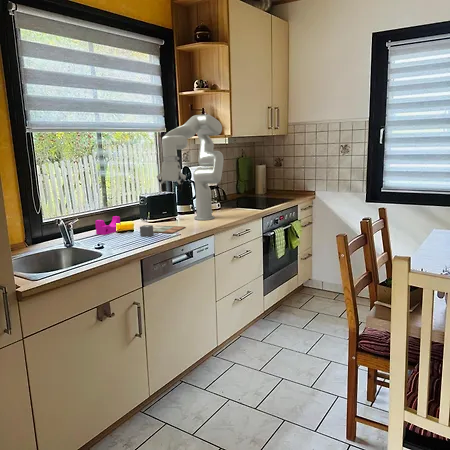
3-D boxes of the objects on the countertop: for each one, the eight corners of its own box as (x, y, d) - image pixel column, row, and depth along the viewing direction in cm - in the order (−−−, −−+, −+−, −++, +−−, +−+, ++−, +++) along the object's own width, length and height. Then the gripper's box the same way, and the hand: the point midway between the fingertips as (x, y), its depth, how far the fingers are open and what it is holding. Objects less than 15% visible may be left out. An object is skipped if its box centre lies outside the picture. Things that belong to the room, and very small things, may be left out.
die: (145, 234, 227) (144, 224, 226) (153, 234, 225) (152, 225, 224) (140, 236, 222) (139, 226, 221) (148, 236, 220) (148, 227, 219)
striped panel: (157, 226, 246) (156, 225, 246) (185, 227, 240) (185, 226, 240) (141, 232, 231) (141, 231, 231) (172, 234, 224) (171, 232, 224)
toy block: (104, 234, 229) (103, 221, 228) (96, 234, 232) (95, 220, 231) (124, 229, 242) (123, 216, 240) (116, 228, 245) (115, 216, 243)
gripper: (187, 158, 226) (189, 190, 230) (159, 159, 232) (161, 190, 236) (181, 159, 219) (183, 192, 223) (152, 160, 225) (154, 192, 229)
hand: (172, 191), depth 229 cm, fingers open, 9 cm apart
